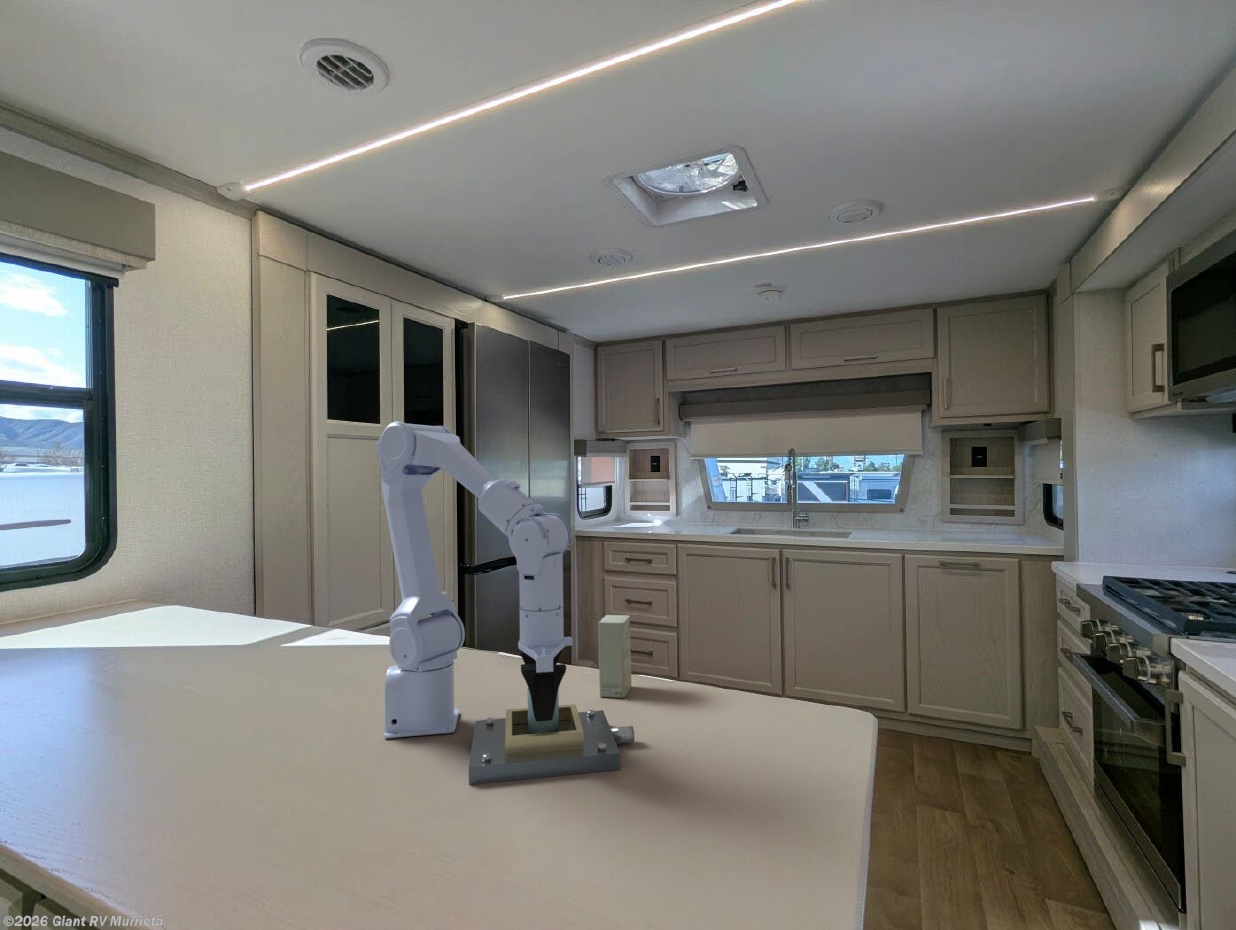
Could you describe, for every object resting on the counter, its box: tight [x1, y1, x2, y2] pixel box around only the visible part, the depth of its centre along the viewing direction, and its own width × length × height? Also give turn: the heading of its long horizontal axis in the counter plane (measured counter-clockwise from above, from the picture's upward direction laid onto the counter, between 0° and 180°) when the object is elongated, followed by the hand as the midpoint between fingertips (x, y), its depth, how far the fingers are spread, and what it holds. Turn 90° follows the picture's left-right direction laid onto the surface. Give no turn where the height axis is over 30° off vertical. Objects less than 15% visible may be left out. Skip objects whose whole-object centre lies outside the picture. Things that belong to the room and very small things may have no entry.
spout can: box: [527, 687, 559, 734], centre depth 79 cm, size 4×4×7 cm
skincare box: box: [597, 614, 632, 699], centre depth 101 cm, size 6×4×12 cm
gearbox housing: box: [468, 703, 635, 786], centre depth 80 cm, size 21×14×4 cm, turn 100°
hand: (542, 711), depth 79 cm, fingers open, 5 cm apart
